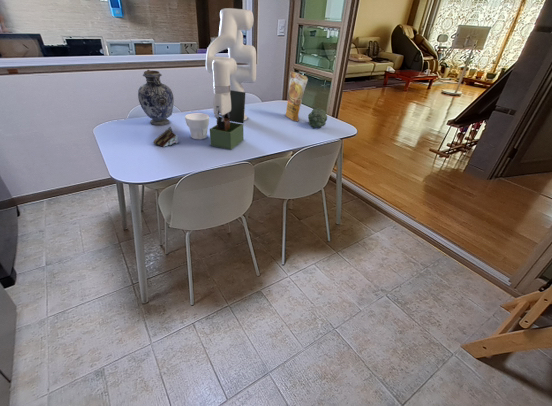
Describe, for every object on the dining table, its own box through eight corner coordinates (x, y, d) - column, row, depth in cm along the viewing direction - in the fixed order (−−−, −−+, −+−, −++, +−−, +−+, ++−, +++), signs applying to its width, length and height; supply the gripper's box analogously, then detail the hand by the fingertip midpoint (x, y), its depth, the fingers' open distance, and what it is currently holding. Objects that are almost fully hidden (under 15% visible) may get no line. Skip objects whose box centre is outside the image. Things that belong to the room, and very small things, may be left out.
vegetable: (322, 118, 190) (334, 114, 176) (312, 134, 188) (323, 131, 174) (309, 106, 185) (320, 102, 171) (298, 123, 184) (308, 119, 170)
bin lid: (244, 92, 144) (245, 92, 144) (224, 89, 147) (225, 89, 147) (243, 123, 150) (243, 123, 151) (223, 120, 153) (224, 119, 154)
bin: (231, 149, 144) (230, 133, 139) (210, 145, 147) (209, 128, 142) (243, 140, 156) (243, 124, 151) (224, 136, 159) (223, 120, 154)
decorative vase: (181, 125, 168) (175, 74, 153) (148, 130, 159) (138, 76, 144) (170, 115, 183) (163, 67, 167) (139, 119, 173) (128, 68, 158)
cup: (185, 133, 159) (183, 113, 152) (208, 131, 163) (206, 112, 157) (189, 141, 149) (186, 120, 143) (213, 139, 154) (211, 119, 148)
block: (225, 131, 142) (225, 121, 139) (217, 129, 143) (216, 120, 140) (230, 128, 146) (229, 119, 143) (221, 126, 147) (221, 117, 144)
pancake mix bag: (290, 113, 202) (294, 70, 187) (304, 121, 188) (309, 76, 173) (282, 114, 200) (285, 70, 184) (295, 122, 186) (299, 76, 170)
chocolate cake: (161, 150, 139) (176, 130, 140) (151, 143, 141) (166, 123, 141) (172, 156, 149) (186, 138, 149) (162, 149, 150) (176, 131, 151)
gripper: (223, 84, 141) (225, 121, 151) (205, 91, 128) (208, 131, 138) (237, 86, 139) (238, 123, 150) (220, 93, 126) (222, 133, 136)
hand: (224, 126), depth 144 cm, fingers closed on block, 4 cm apart
